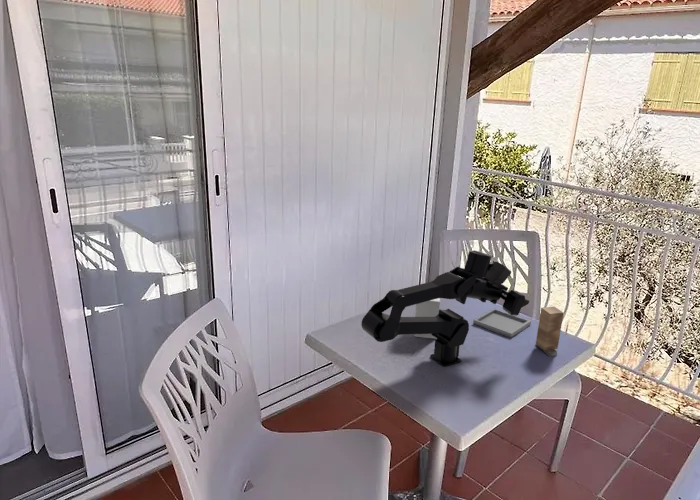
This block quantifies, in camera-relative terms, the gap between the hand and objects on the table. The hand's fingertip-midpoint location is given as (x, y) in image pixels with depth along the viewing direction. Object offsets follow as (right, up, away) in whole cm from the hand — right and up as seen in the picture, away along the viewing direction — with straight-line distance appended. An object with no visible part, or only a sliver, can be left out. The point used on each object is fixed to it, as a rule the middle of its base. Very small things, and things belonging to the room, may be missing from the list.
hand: (517, 295), depth 145 cm
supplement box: (-26, -13, +10) cm, 31 cm away
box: (+1, -11, +17) cm, 20 cm away
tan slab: (+9, -16, +1) cm, 19 cm away
